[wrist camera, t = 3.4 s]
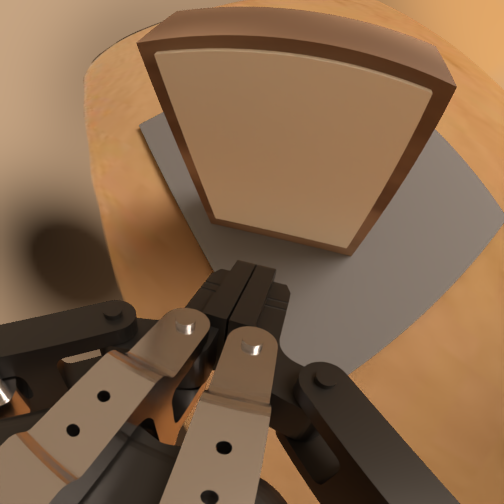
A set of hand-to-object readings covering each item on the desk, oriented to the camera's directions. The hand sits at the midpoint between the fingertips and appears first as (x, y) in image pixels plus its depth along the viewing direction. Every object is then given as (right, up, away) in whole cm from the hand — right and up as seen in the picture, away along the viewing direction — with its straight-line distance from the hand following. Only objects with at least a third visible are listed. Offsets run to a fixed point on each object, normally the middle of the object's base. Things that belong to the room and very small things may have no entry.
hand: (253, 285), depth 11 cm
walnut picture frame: (+2, +4, +9) cm, 10 cm away
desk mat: (+7, +9, +11) cm, 16 cm away
